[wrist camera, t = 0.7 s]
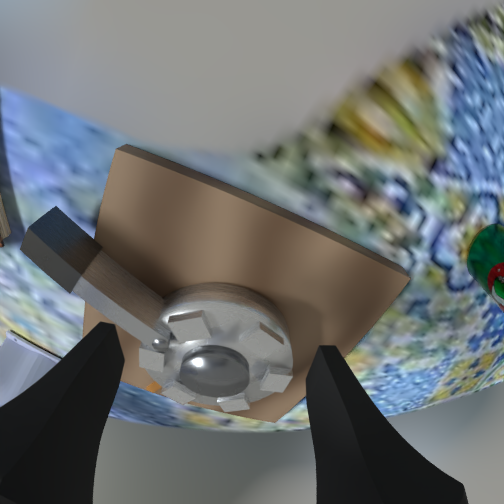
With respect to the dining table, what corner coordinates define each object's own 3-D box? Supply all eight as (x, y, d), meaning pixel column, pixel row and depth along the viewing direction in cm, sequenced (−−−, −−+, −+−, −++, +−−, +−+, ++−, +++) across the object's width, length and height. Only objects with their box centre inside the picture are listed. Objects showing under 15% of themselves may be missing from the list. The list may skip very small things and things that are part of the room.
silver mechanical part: (317, 338, 20) (326, 376, 17) (224, 394, 24) (222, 427, 21) (90, 150, 14) (55, 166, 11) (32, 262, 17) (6, 290, 14)
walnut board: (86, 353, 24) (80, 366, 23) (126, 144, 15) (114, 149, 14) (274, 411, 28) (275, 424, 27) (402, 267, 20) (411, 280, 18)
